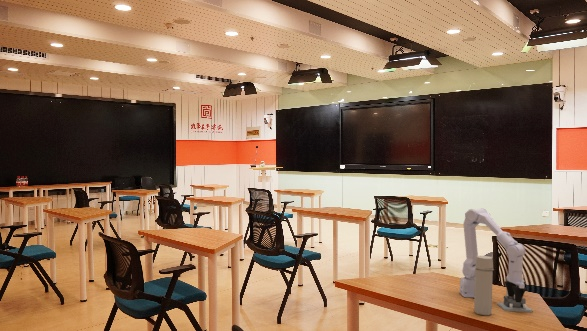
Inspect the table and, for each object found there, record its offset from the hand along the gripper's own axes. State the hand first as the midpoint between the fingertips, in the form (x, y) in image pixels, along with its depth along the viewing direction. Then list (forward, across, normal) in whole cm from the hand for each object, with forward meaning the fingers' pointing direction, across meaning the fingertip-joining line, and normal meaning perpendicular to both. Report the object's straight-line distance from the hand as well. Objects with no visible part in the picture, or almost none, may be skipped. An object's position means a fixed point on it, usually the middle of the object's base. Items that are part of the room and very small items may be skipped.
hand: (514, 299), depth 203 cm
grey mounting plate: (+4, 0, 0) cm, 4 cm away
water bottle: (+4, -9, +17) cm, 20 cm away
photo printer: (+4, +21, -9) cm, 23 cm away
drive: (+3, 0, 0) cm, 3 cm away
